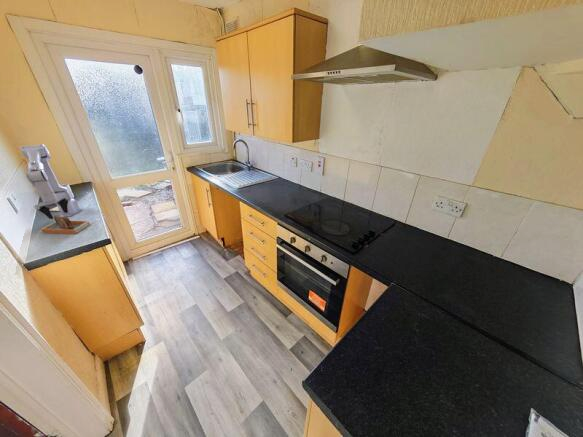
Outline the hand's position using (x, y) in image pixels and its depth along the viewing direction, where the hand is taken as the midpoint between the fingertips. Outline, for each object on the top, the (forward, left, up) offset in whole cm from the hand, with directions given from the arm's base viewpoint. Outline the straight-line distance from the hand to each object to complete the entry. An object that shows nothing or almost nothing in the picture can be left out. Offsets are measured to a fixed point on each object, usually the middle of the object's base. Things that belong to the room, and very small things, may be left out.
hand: (59, 215), depth 128 cm
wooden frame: (-1, -1, -10) cm, 10 cm away
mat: (-26, -29, -10) cm, 40 cm away
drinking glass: (-43, -38, -10) cm, 59 cm away
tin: (-1, -1, -10) cm, 10 cm away
